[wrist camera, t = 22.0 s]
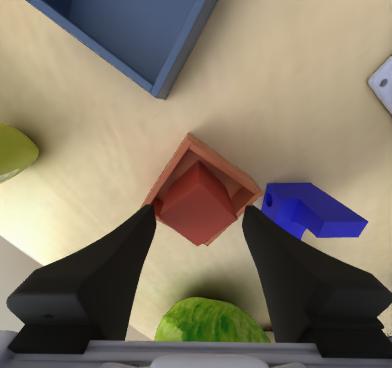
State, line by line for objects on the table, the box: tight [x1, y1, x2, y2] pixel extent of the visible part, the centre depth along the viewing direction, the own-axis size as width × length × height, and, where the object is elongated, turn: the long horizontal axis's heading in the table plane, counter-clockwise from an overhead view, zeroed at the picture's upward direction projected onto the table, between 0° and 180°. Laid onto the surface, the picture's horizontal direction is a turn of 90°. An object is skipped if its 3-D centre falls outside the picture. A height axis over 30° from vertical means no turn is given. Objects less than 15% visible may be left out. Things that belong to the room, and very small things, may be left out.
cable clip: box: [261, 183, 368, 240], centre depth 16 cm, size 12×4×6 cm, turn 1°
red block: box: [159, 160, 238, 246], centre depth 13 cm, size 4×4×5 cm
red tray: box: [140, 133, 263, 246], centre depth 15 cm, size 8×8×3 cm
